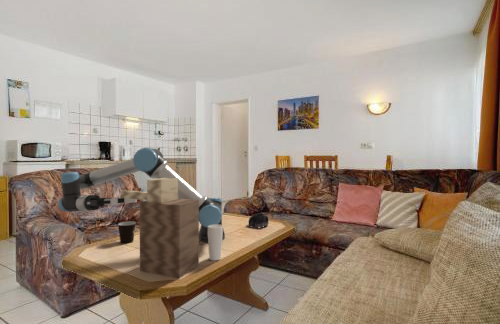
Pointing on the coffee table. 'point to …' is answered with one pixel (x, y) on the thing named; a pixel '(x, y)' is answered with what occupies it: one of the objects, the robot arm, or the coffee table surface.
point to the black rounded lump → (258, 220)
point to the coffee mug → (126, 232)
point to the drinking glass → (215, 241)
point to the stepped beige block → (155, 191)
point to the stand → (169, 237)
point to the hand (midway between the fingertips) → (127, 200)
